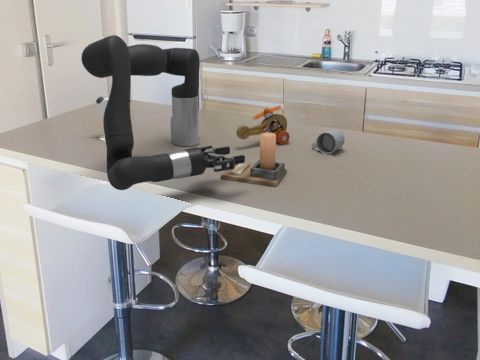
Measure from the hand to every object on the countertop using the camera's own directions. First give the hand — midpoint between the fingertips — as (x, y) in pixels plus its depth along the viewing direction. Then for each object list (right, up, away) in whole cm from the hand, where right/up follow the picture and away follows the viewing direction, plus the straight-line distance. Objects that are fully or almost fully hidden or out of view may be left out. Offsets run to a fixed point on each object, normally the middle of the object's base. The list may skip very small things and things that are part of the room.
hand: (236, 154), depth 138 cm
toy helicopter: (+10, +5, +38) cm, 40 cm away
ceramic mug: (+31, +3, +32) cm, 45 cm away
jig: (+5, -6, +9) cm, 12 cm away
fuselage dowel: (+9, -5, +8) cm, 13 cm away
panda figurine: (-45, +8, +43) cm, 63 cm away
